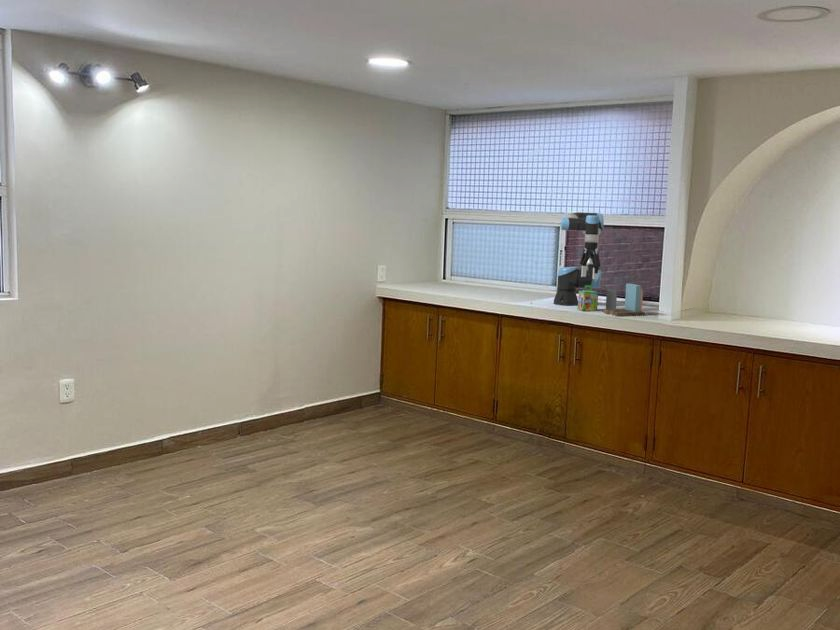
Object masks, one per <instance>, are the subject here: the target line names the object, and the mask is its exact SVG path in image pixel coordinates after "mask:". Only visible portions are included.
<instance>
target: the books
mask: <svg viewBox="0 0 840 630" xmlns="http://www.w3.org/2000/svg"><path fill="white" fill-rule="evenodd" d="M643 295H644V289H643V288H642V285H640V284H635V283H626V284H625V298H624V309H626V310H630V311H633V312H643V311H642V310H643V297H644V296H643Z"/></svg>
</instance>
